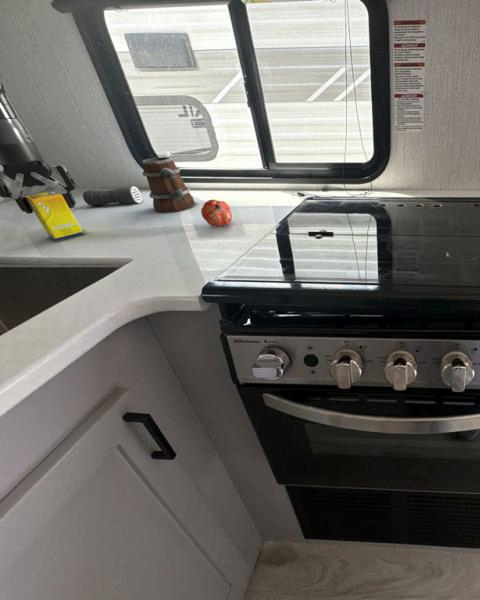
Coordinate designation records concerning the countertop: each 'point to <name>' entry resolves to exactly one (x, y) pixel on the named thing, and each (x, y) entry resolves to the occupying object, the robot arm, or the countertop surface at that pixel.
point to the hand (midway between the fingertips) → (51, 210)
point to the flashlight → (112, 196)
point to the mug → (166, 185)
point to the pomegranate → (216, 213)
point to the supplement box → (54, 215)
